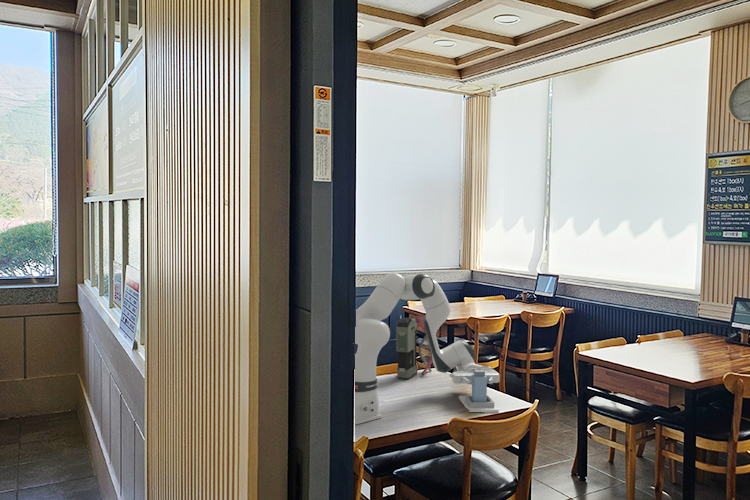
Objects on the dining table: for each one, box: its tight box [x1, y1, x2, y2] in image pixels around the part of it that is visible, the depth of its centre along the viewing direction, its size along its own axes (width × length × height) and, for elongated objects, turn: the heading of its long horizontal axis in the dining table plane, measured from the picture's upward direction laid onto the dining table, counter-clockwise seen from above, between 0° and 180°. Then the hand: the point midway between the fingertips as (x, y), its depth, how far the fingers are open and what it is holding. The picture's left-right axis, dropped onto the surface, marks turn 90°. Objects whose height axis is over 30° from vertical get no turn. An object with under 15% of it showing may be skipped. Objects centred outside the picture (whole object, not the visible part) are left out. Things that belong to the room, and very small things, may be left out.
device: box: [395, 317, 419, 381], centre depth 289 cm, size 14×8×30 cm, turn 156°
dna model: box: [417, 315, 433, 376], centre depth 296 cm, size 9×9×30 cm
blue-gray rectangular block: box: [471, 370, 488, 402], centre depth 240 cm, size 5×5×14 cm
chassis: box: [458, 395, 500, 414], centre depth 242 cm, size 20×12×3 cm, turn 4°
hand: (479, 382), depth 239 cm, fingers open, 8 cm apart
